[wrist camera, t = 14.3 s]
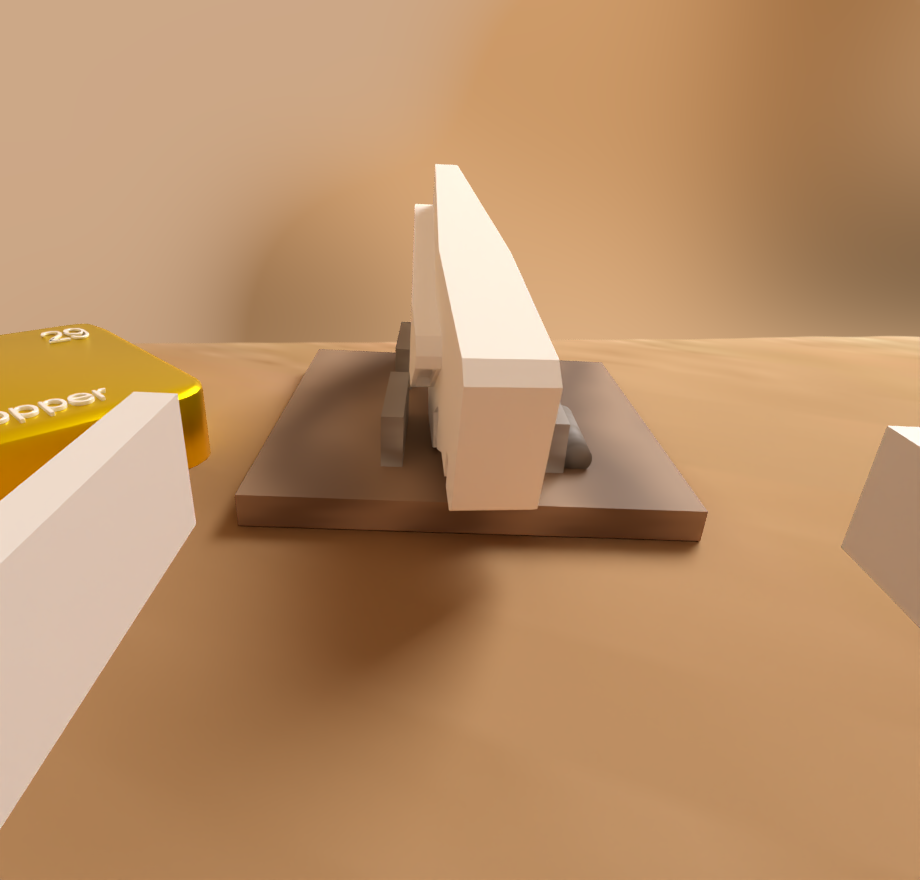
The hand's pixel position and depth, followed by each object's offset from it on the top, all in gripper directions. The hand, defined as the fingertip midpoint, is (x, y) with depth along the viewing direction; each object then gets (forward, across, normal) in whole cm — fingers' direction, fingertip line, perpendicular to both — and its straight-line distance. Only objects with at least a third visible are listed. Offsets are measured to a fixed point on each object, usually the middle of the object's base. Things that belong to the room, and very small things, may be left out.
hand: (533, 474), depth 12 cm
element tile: (+18, -23, -10) cm, 31 cm away
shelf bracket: (+22, -1, -8) cm, 24 cm away
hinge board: (+22, 0, -10) cm, 24 cm away
